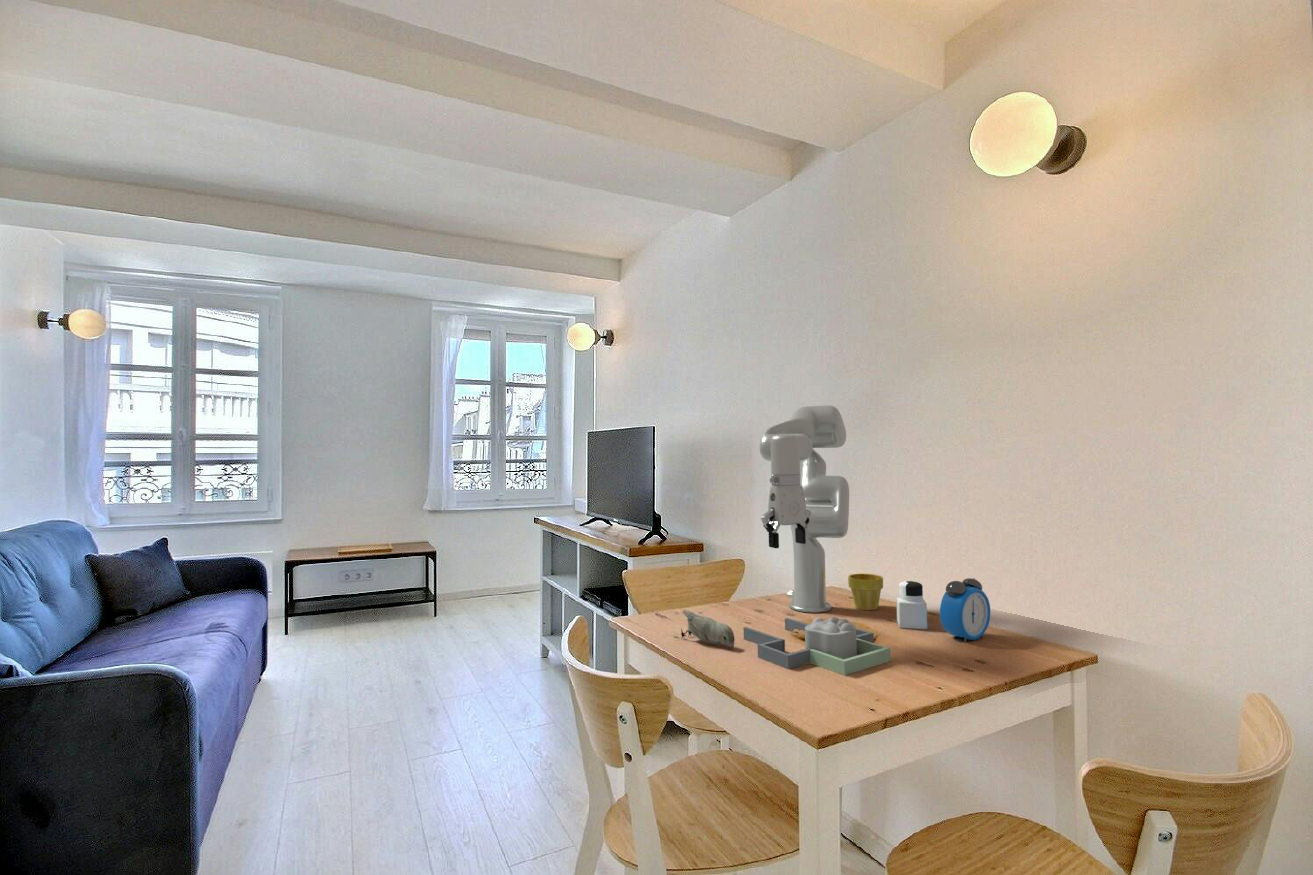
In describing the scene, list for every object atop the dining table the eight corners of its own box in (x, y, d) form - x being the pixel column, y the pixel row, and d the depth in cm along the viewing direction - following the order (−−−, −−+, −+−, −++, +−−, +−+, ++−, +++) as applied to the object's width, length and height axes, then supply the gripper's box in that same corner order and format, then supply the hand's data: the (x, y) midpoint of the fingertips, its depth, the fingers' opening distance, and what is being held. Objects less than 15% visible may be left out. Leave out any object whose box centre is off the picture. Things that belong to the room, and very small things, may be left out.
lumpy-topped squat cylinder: (799, 658, 148) (799, 621, 148) (827, 645, 157) (826, 610, 157) (839, 668, 141) (839, 629, 141) (866, 654, 150) (865, 618, 150)
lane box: (723, 643, 160) (722, 631, 160) (805, 624, 176) (805, 613, 176) (822, 682, 132) (822, 668, 132) (909, 655, 149) (908, 642, 149)
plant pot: (842, 608, 194) (841, 576, 194) (858, 602, 201) (857, 571, 201) (874, 613, 186) (873, 581, 187) (889, 607, 194) (888, 575, 194)
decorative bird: (726, 652, 153) (726, 622, 153) (677, 640, 164) (676, 611, 164) (739, 647, 157) (739, 617, 157) (690, 635, 168) (690, 607, 168)
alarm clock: (960, 644, 156) (959, 584, 156) (938, 638, 161) (937, 580, 162) (992, 636, 162) (990, 578, 163) (969, 630, 168) (968, 574, 168)
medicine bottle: (923, 622, 176) (922, 580, 176) (927, 629, 169) (926, 585, 170) (896, 621, 178) (895, 579, 178) (899, 628, 171) (898, 584, 172)
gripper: (771, 483, 158) (773, 551, 158) (819, 479, 167) (820, 543, 167) (751, 482, 164) (753, 547, 164) (798, 478, 173) (800, 539, 174)
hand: (787, 545), depth 166 cm, fingers open, 9 cm apart
